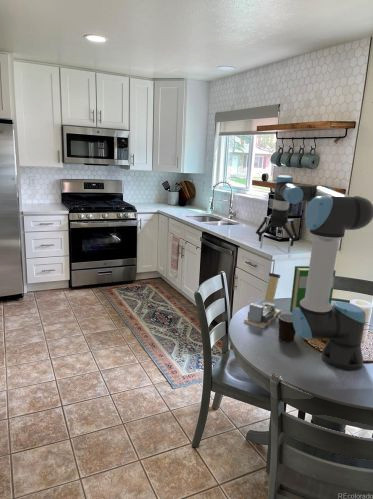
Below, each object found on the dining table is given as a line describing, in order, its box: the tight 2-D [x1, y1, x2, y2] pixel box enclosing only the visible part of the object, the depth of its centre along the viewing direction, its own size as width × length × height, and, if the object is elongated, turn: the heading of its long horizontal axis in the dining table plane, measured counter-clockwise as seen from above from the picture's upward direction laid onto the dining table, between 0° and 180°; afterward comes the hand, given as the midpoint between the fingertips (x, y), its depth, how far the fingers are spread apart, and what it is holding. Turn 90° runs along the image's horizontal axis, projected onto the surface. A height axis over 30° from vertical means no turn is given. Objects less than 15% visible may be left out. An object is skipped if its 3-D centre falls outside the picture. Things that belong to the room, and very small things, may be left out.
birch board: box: [243, 308, 282, 329], centre depth 188 cm, size 22×10×2 cm, turn 147°
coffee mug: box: [277, 313, 297, 343], centre depth 168 cm, size 12×9×10 cm
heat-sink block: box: [247, 301, 277, 324], centre depth 186 cm, size 19×9×8 cm, turn 147°
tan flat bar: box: [264, 272, 281, 303], centre depth 193 cm, size 2×5×14 cm, turn 57°
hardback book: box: [289, 265, 336, 312], centre depth 193 cm, size 18×7×24 cm, turn 95°
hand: (274, 249), depth 191 cm, fingers open, 13 cm apart
